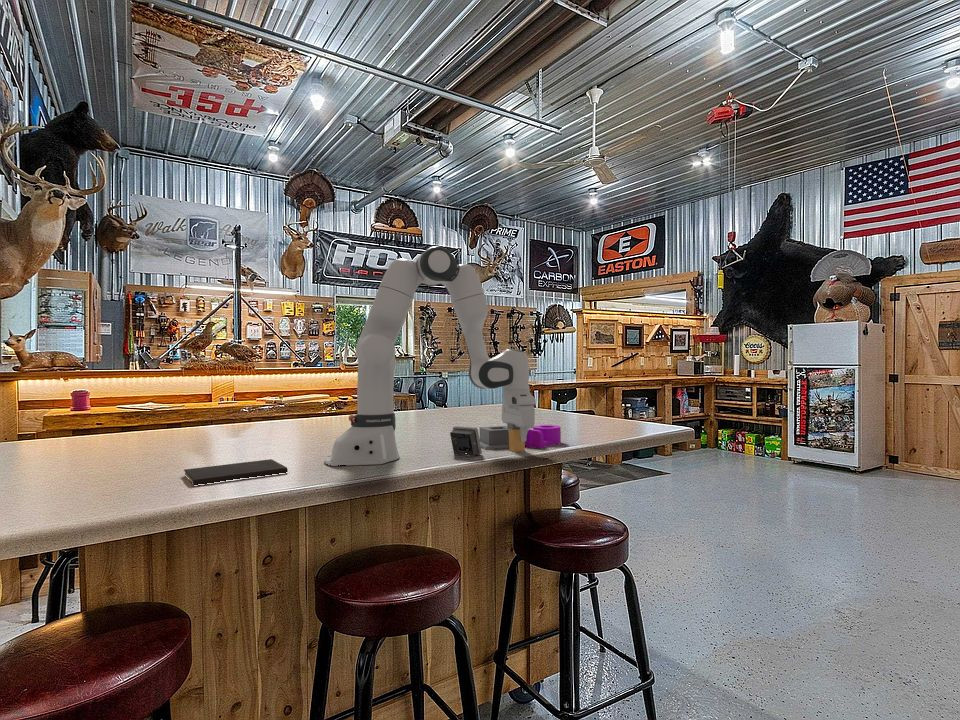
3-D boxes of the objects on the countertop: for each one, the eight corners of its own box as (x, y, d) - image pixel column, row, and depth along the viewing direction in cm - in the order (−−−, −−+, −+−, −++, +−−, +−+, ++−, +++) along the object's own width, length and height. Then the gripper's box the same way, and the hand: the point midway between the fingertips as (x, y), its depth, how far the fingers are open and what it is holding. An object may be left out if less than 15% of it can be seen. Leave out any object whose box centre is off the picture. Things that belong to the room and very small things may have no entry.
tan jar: (513, 452, 173) (512, 424, 173) (507, 449, 178) (507, 423, 178) (526, 451, 175) (525, 424, 175) (520, 449, 179) (520, 422, 179)
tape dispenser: (542, 441, 198) (542, 424, 198) (565, 443, 192) (565, 426, 192) (518, 447, 186) (518, 429, 186) (542, 449, 180) (542, 431, 180)
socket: (485, 449, 179) (485, 431, 179) (472, 443, 192) (472, 426, 192) (523, 446, 184) (523, 429, 184) (508, 440, 197) (508, 424, 197)
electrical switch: (482, 455, 170) (480, 426, 169) (473, 459, 165) (471, 430, 164) (458, 452, 175) (456, 424, 174) (449, 456, 170) (447, 428, 170)
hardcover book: (184, 477, 144) (183, 469, 144) (271, 466, 158) (271, 459, 158) (193, 489, 131) (193, 479, 131) (287, 476, 145) (287, 467, 145)
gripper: (496, 396, 185) (497, 435, 185) (519, 400, 166) (520, 444, 166) (513, 395, 187) (514, 434, 187) (538, 399, 168) (538, 443, 168)
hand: (517, 439), depth 176 cm, fingers open, 8 cm apart
